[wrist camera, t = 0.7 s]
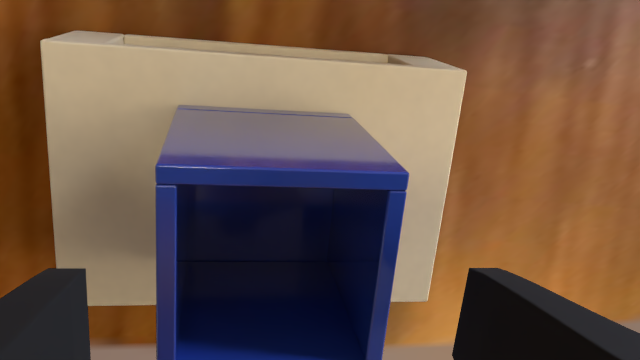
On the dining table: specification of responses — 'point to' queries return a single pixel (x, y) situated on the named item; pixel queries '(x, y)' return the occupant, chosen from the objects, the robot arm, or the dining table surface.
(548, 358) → the robot arm
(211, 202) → the box
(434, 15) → the dining table surface
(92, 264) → the beige flat block
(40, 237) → the dining table surface
